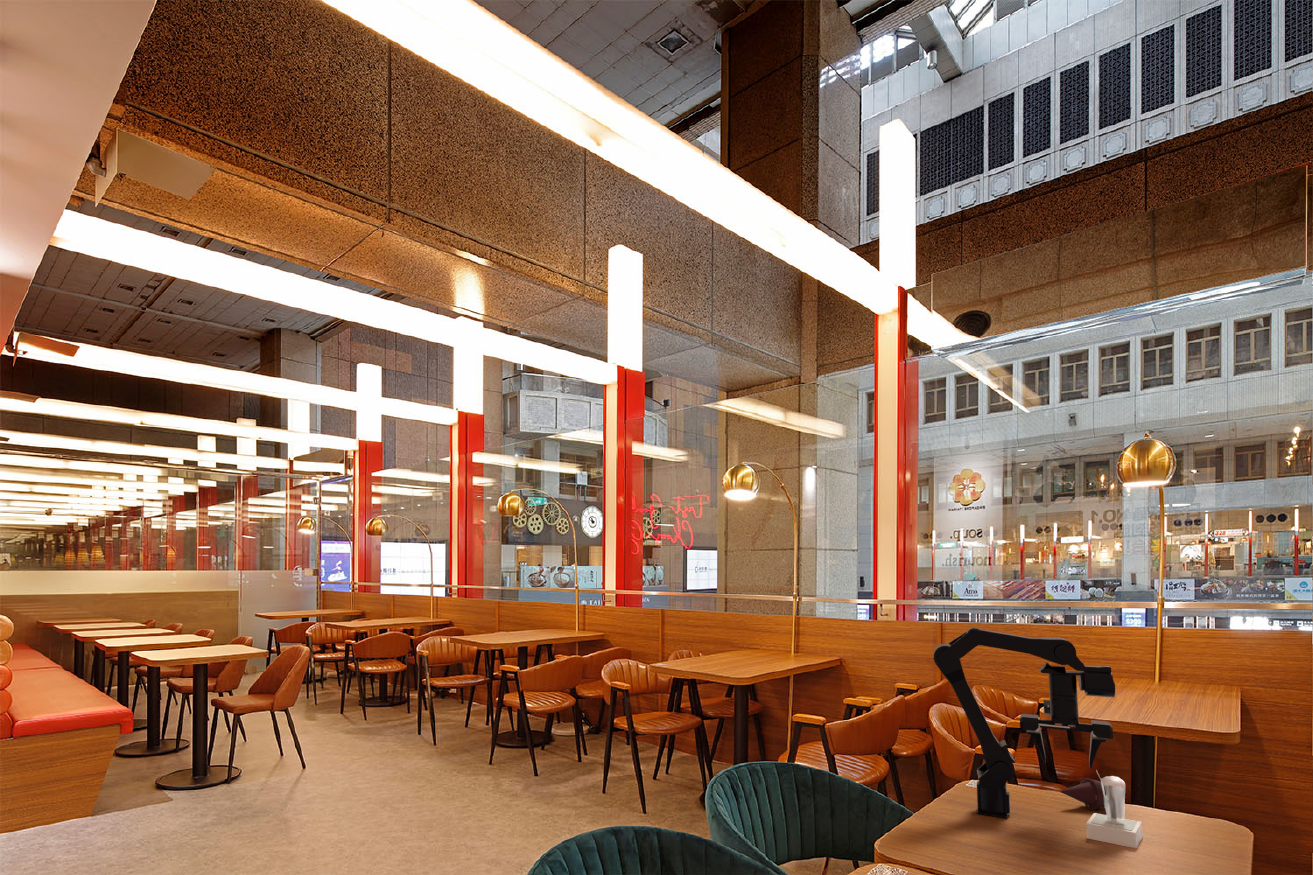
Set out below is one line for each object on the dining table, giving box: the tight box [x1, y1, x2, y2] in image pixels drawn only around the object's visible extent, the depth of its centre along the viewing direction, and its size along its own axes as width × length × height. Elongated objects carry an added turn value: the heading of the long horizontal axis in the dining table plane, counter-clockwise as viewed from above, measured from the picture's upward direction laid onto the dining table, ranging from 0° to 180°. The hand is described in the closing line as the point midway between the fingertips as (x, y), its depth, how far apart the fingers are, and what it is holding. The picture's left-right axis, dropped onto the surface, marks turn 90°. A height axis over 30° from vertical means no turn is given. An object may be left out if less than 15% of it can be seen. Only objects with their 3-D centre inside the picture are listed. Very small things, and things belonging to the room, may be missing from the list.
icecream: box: [1060, 777, 1105, 811], centre depth 187 cm, size 7×7×15 cm
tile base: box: [1085, 812, 1143, 849], centre depth 167 cm, size 9×9×3 cm
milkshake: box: [1095, 769, 1126, 824], centre depth 168 cm, size 4×5×10 cm
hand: (1067, 765), depth 178 cm, fingers open, 9 cm apart
